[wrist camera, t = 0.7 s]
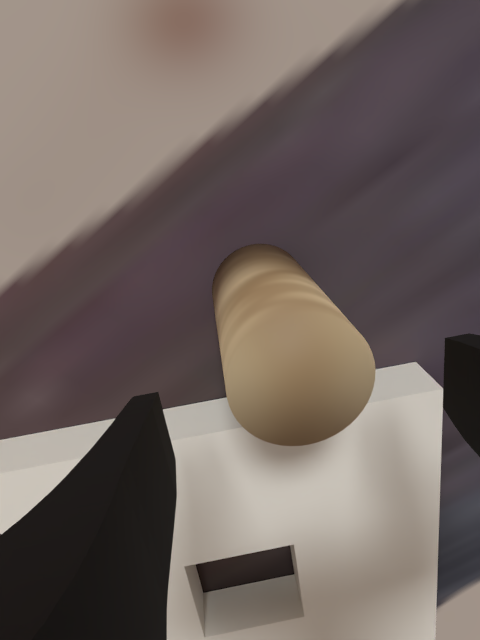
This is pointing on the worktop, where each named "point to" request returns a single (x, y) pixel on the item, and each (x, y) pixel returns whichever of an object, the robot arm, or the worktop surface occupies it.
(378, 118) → the worktop surface
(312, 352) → the maple dowel
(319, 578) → the holder board
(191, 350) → the worktop surface
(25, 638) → the robot arm
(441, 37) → the worktop surface
